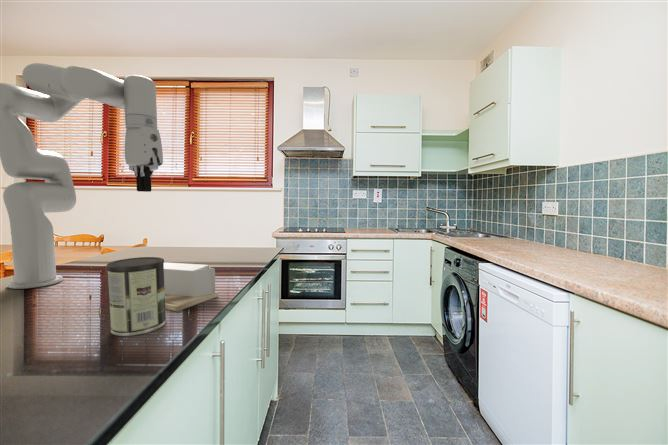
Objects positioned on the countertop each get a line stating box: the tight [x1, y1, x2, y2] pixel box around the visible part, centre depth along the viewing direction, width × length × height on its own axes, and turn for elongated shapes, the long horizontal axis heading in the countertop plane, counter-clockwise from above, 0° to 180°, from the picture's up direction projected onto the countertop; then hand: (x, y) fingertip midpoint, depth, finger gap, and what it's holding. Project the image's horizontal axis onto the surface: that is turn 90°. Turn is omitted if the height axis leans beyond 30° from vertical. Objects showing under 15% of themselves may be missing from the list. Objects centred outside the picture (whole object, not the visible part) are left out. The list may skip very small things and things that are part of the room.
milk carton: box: [164, 261, 216, 297], centre depth 87 cm, size 7×7×19 cm
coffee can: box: [105, 256, 167, 337], centre depth 67 cm, size 10×10×14 cm
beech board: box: [165, 291, 219, 312], centre depth 87 cm, size 24×13×1 cm, turn 65°
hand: (144, 191), depth 88 cm, fingers closed
